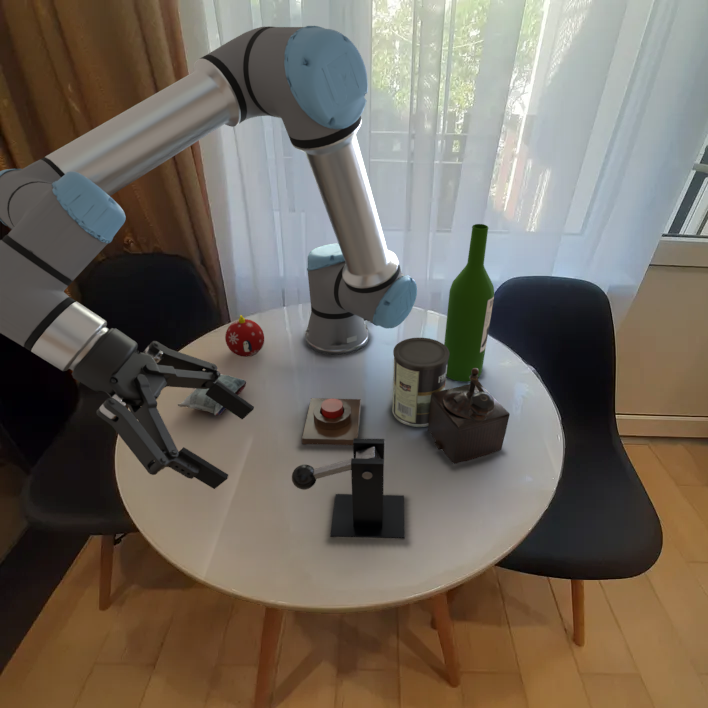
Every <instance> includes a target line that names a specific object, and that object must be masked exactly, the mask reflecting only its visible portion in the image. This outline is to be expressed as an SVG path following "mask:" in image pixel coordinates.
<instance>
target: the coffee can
mask: <svg viewBox="0 0 708 708" xmlns="http://www.w3.org/2000/svg"><path fill="white" fill-rule="evenodd" d="M392 353H393V379H392V383H393V384H392V406H391V411H392V412H391V413H392V416H394V418H395V419H396V420H397V421H398V422H399V423H401V424H403V425H406V426H408V427H413V428H425V427H428V423H429V412H430V401H431V394H432V393H434V392H438V391H442V390H446V384H447V383H446V382H447V376H446V374H447V365H448V359H449V350H448V348H447V347H446V346H445V345H444V343H442V342H440V341H438V340H436V339H432V338H430V337H429V338H428V337H411V338H406V339H403V340H401V341H399V342H397V344H396V345H395V346H394V347H393V352H392Z"/></svg>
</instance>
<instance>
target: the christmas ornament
mask: <svg viewBox="0 0 708 708" xmlns="http://www.w3.org/2000/svg"><path fill="white" fill-rule="evenodd" d="M224 338H225V343H226V347H227V348H228V350H229V351H230V352H232V353H233V354H234V355H235V356H238V357H243V358H249V357H252V356H254V355H256V354H258V353H259V352H260V351H261V350H262V349H263V347H264V344H265V333H264V331H263V329H262V327H261V325H259V323H257V322H256V321H254V320H251V319H248V318H247V319H246V318H245V317H244V316H243V315H242V314H240V315H239V318H238V320H235V321H233V322H232V323H231V324H229V326H228V328H227V329H226V331H225V337H224Z"/></svg>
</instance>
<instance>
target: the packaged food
mask: <svg viewBox="0 0 708 708" xmlns="http://www.w3.org/2000/svg"><path fill="white" fill-rule="evenodd" d="M218 380H220V381H221V382H222V383H224V384H225V385H226V386H228V387H230V388H231V389H232V390H233V391H234V393H235V394H237V395H238V396H239V395H240V393H241V392H242V391H244V389H245V387H246V385H247V384H248V383H247V380H245V379H242V378H239V377H236V376H231V375H229V374H228V375H227V374H221V376H220V377H219V378H218ZM208 390H209V389H196V388H195V389H194V390H193V391H192V392H191V393H190V394H189V395H188V396H186V397H185V399H183V401H182V402H180V403H177V406H178V407H180V408H188V409H193V410H198V411H203V412H209V413H210V414H213V415H214V416H220V415H221V414H222V413H223V412H224V411H225V410H226V408H224V407H223V406H221V405H220V404H219V403H217V402H216V401H214V400H213V399H211V398H210V397H208V396H207V395H205V394H206V392H207V391H208Z"/></svg>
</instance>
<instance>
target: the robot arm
mask: <svg viewBox="0 0 708 708" xmlns="http://www.w3.org/2000/svg"><path fill="white" fill-rule="evenodd" d="M367 73H368V72H367V69H366V64H365V62H364V59H363V57H362V55H361V53H360V51H359V50H358V48H357V46H356V45H355V44H354V43H353V42H352V40H350V39H349V38H348V37H347V36H346V35H344V34H343V33H342V32H340V31H337V30H335V29H331V28H324V27H322V26H318V25H306V26H259V27H256V28H253V29H251V30H247V31H246V32H243V33H242V34H240V35H238V36H235V37H234V38H232V39H230V40H229V41H227V42H226V43H224V44H222V45H221V46H219V47H217V48H216V49H214V50H212V51H210V52H209V53H207V54H204V56H201V57H200V58H198V59H197V60H196V61H194V63H193V68H192V72H191V73H189V74H188V75H186V76H184V77H182V78H181V79H178V80H177V81H175V82H174V83H172V84H170V85H168V86H166V87H165V88H163V89H161V90H159V91H158V92H156V93H154V94H152V95H150V96H149V97H147V98H145V99H144V100H142V101H141V102H138V103H136V104H135V105H133V106H131V107H130V108H128V109H126V110H124V111H123V112H121V113H119V114H117V115H115V116H114V117H112V118H110V119H108V120H107V121H105V122H103V123H102V124H99V125H98V126H96V127H94V128H93V129H91V130H89V131H88V132H85V133H84V134H82V135H81V136H79V137H77V138H75V139H74V140H72V141H70V142H69V143H67V144H65V145H63V146H61V147H60V148H57V149H56V150H54V151H52V152H50V153H49V154H47V155H46V156H44V157H42V158H40V159H38V160H35V161H34V162H32V163H30V164H29V165H27V166H25V167H23V168H9V169H8V168H6V169H3V170H0V222H1V223H2V224H3V225H4V226H6V227H8V228H9V229H10V231H9V232H8V234H6V235H4V236H3V238H2V239H0V334H1V335H3V336H4V337H6V338H7V339H9V340H11V341H13V342H15V343H16V344H18V345H20V346H21V347H23V348H25V349H26V350H28V351H29V352H31V353H33V354H35V355H36V356H38V357H39V358H41V359H42V360H44V361H46V362H47V363H48V364H50V365H52V366H53V367H55V368H56V369H58V370H60V371H62V372H66V371H68V370H71V371H72V373H71V376H72V379H74V380H76V381H78V382H79V383H81V384H82V385H83V386H85V387H87V388H89V389H90V390H92V391H94V392H96V393H99V392H104V393H106V395H108V396H109V397H107V398H106V399H105V401H104V402H103V403H102V404H101V405H100V406H99V408H97V409H96V415H97V416H98V417H99V418H101V419H102V421H105V422H106V423H107V424H109V426H111V427H112V428H113V429H114V431H115V432H116V433H117V435H118V436H119V437H120V439H122V441H123V442H124V443H125V445H126V447H128V448H129V450H130V451H131V452H132V454H133V455H134V457H136V459H137V460H138V461H139V462H140V464H141V465H142V466H143V468H144V469H145V470H146V471H147V473H148V474H149V475H151V476H155V475H157V474H158V473H159V472H161V471H162V470H164V469H165V468H170V469H172V470H173V471H175V472H177V473H178V474H181V475H182V476H184V477H185V478H187V479H191V480H192V479H194V478H195V479H197V480H198V481H199V482H202V483H203V484H205V485H207V486H208V487H210V488H211V489H213V490H216V489H217V488H218V487H219V486H221V485H222V484H223V483H224V482H226V480H228V478H229V474H228V473H227V472H225V471H223V470H222V469H220V468H218V467H217V466H215V465H214V464H212V463H210V462H209V461H207V460H205V459H204V458H202V457H201V456H199V455H197V454H196V453H194V452H193V451H191V450H189V449H187V448H186V447H184V446H183V447H182V448H181V449H180V450H178V448H177V446H176V444H175V441H174V440H173V437H172V436H171V433H170V431H169V429H168V428H167V426H166V423H165V422H164V420H163V418H162V416H161V413H160V412H159V410H158V401H157V399H159V397H160V395H161V394H162V393H161V392H162V391H163V389H164V388H167V387H169V388H181V389H195V390H196V389H209V390H208V391H207V392H206V394H205V395H207V396H208V397H210V398H211V399H213V400H214V401H216V402H217V403H219V404H220V405H221V406H223V407H224V408H225V410H227V411H229V412H230V413H231V414H233V415H235V417H237V418H239V419H240V420H244V419H245V418H246V417H247V416H248V415H249V414H250V413H252V412H253V411H254V409H255V406H254V405H252V404H251V403H250V402H248V401H247V400H245V399H244V398H243V397H241V396H240V395H239V394H238V395H237V394H235V393H234V391H233V390H232V389H231V388H230V387H228V386H226V385H225V384H224V383H222V382H221V381H220V380H218V378H219V377H220V376H221V375H222V374H221V372H220V371H219V370H218V369H219V368H218V365H217V364H215V363H214V362H210V361H208V360H205V359H201V358H198V357H195V356H192V355H189V354H185V353H183V352H179V351H177V350H174V349H171V348H168V347H167V346H165V345H164V344H162V343H160V342H159V341H157V340H152V341H151V342H150V344H148V345H147V347H146V348H145V349H144V350H143V352H141V351H139V350H138V348H139V345H138V343H137V342H136V341H135V340H134V339H132V338H131V337H129V336H128V335H127V334H125V333H124V332H122V331H121V330H119V329H117V328H116V327H115V328H113V327H111V328H108V327H107V325H108V322H107V320H106V319H104V318H102V317H101V316H99V315H98V314H97V313H95V312H93V311H92V310H90V309H89V308H88V307H86V306H84V305H83V304H82V303H80V302H79V301H77V300H75V299H74V298H73V297H70V296H69V295H68V294H67V293H66V292H65V290H66V289H67V288H68V287H70V285H71V284H72V283H74V280H75V279H77V277H79V275H80V274H81V273H82V272H83V271H84V270H85V268H86V267H88V265H90V264H91V262H92V261H93V260H94V259H95V258H96V257H97V256H98V255H99V253H101V251H103V249H104V248H105V247H106V246H107V245H108V244H111V243H112V242H113V241H114V240H113V239H114V237H115V236H116V235H117V233H118V232H119V230H120V229H121V228H122V227H123V226H124V225H125V222H126V218H127V216H126V213H125V211H124V209H123V208H122V207H121V205H120V204H119V203H118V202H117V201H115V199H114V198H113V197H111V196H113V195H114V194H116V193H117V192H119V191H121V190H122V189H124V188H125V187H127V186H129V185H130V184H132V183H133V182H135V181H137V180H138V179H140V178H141V177H143V176H145V175H146V174H148V173H149V172H150V171H152V170H154V169H155V168H158V166H161V165H162V164H163V163H165V162H167V161H168V160H170V159H172V158H173V157H174V156H176V155H178V154H179V153H181V152H182V151H184V150H186V149H188V148H189V147H191V146H193V145H194V144H196V143H197V142H198V141H200V140H202V139H203V138H205V137H207V136H208V135H210V134H211V133H212V132H213V133H214V131H216V130H218V129H219V128H221V127H222V126H224V125H226V126H228V127H231V128H232V127H233V128H234V127H236V126H238V125H239V124H242V123H243V122H244V121H247V120H249V119H253V118H257V117H273V118H278V119H281V120H282V123H283V125H284V127H285V131H286V133H287V135H288V139H289V141H290V143H291V145H292V147H293V148H294V149H296V150H298V151H301V152H303V153H305V156H306V159H307V161H308V164H309V167H310V170H311V172H312V175H313V178H314V181H315V183H316V186H317V188H318V191H319V194H320V197H321V200H322V202H323V206H324V208H325V211H326V213H327V216H328V219H329V222H330V224H331V227H332V230H333V233H334V235H335V238H336V241H337V243H329V244H324V245H321V246H318V247H315V248H314V249H311V251H310V252H309V253H308V255H307V268H306V271H307V279H308V288H309V289H308V290H309V299H310V301H309V302H310V316H309V320H308V323H307V327H306V330H305V342H306V344H307V346H308V347H309V348H310V349H311V350H313V351H315V352H316V353H319V354H323V355H328V356H344V355H349V354H352V353H356V352H358V351H360V350H362V349H363V348H364V347H365V346H366V345H367V344H368V342H369V329H368V326H367V324H366V323H365V322H366V321H367V322H369V323H370V324H373V325H374V326H375V327H378V326H379V327H381V328H384V329H394V328H396V327H398V326H399V325H401V324H402V323H403V322H404V321H405V320H406V319H407V318H408V316H409V315H410V313H411V312H412V310H413V309H414V308H413V307H414V305H415V303H416V300H417V295H418V285H417V282H416V280H415V279H414V278H413V277H411V276H410V275H409V274H404V273H403V272H402V269H401V265H400V261H399V259H398V256H397V255H396V253H395V252H393V251H392V250H390V249H388V246H387V244H386V243H387V242H386V239H385V236H384V232H383V228H382V225H381V221H380V218H379V214H378V211H377V206H376V203H375V199H374V196H373V193H372V188H371V184H370V182H369V181H370V180H369V177H368V175H367V170H366V167H365V163H364V159H363V156H362V152H361V149H360V145H359V142H358V138H357V133H358V131H359V129H360V128H361V126H362V123H363V119H362V114H363V113H364V111H365V109H366V105H367V99H366V95H368V92H369V79H368V74H367ZM126 406H127V407H126Z"/></svg>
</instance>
